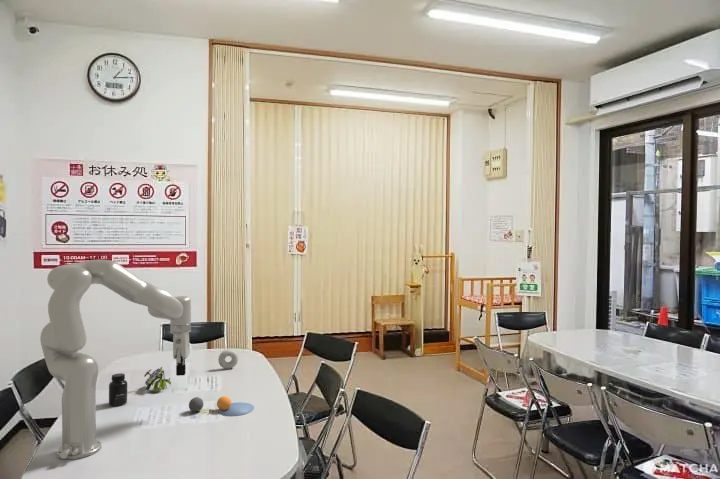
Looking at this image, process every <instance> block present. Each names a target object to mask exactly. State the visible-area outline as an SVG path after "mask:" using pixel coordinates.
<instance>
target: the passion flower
mask: <svg viewBox="0 0 720 479" xmlns="http://www.w3.org/2000/svg"><path fill="white" fill-rule="evenodd" d="M151 371H152V369H148V370H147V371H146V372H145V374H144V378H145V377H146V376H148V375H149V377H148V378H147V379H146V380H145V381H144V382H145V383H144V384H145V386H146V387H145V389H146V390H150V389H151V386H153V393H155V394H157V392H158V391H159V392H161V391H162V390H164V389H165V388H168V387H167V384H170V385H171V384H172V382H171V377H168V378H165V370H164V368H163V366H161V367H159V368H157V369H155V370H154V371H152V372H151ZM150 372H151V373H150Z"/></svg>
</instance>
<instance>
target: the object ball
mask: <svg viewBox="0 0 720 479" xmlns="http://www.w3.org/2000/svg"><path fill="white" fill-rule="evenodd" d="M231 403H232V400H231V398H230V397H229V396H228V395H223V396H220V397H219V398H218V399H217V402H216V406H217V409H220V410H223V411H224V410H227V409H229V407H230V406H231Z"/></svg>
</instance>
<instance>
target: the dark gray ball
mask: <svg viewBox="0 0 720 479" xmlns="http://www.w3.org/2000/svg"><path fill="white" fill-rule="evenodd" d="M203 407H204V401H203V399H202V398H201V397H198V396H197V397H193V398H192V399H190V401H189V403H188V408H189V410H190V411H192V412H194V413H197V412H198V413H199V412H201V410H202V409H203Z"/></svg>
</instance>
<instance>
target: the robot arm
mask: <svg viewBox="0 0 720 479" xmlns="http://www.w3.org/2000/svg"><path fill="white" fill-rule="evenodd" d="M47 284H48V287H50V288H51V289H52V290H54V291H52V293H51V296H50V297H49V300H48V304H47V313H48V317H49V318H48V319H49V322H48V323H47V324H46V325H45V326H44V327H43V328H42V329H41V332H40V338H39V340H40V345H41V349H42V353H43V357H44V361H45V363H46V367H47V369H48V373H50V375H51V376H52V377H53V378H54V379H55V378H56V379H57V380H60V381H63V382H64V387H63V391H62V394H61V395H62V396H61V429H62V430H61V435H62V438H61V440H62V443H61V446H59V448H58V449H56V456H57V458H58V459H60V460H61V459H62V460H76V459H83V458H86V457H89V456H91V455H93V454H96V453H97V452H98V451H99V450H100V449H101V448H102V441H101V440H98V439H97V418H96V417H97V413H96V412H97V410H96V409H97V408H96V407H97V406H96V404H97V403H96V397H97V396H96V395H97V393H96V389H97V388H96V387H97V381H98V377H99V376H98V375H99V365H98V362H97V360H96V359H95V358H93V357H92V356H90V355H89V354H87V353H83V352H80V351H81V350H82V349H83V348H85V346H86V343H87V334H86V330H85V326H84V323H83V319H82V314H81V307H80V304H81V300H82V298H83V296H84V294H86V292H87V291H88V289H90V287H91V285H94V284H95V285H102V286H104V287H106V288H108V289H109V290H111V291H112V292H114V293H116V294H117V295H119V296H120V297H122V298H123V299H125V300H126V301H129V302H132V303H134V304H138V305H142V306H143V307H144V306H145V307H147V312H148V314H149V315H150V316H151V317H153V318H157V319H162V320H169V321H170V328H169V329H170V331H169V333H170V334H172V335H173V337H172V341H173V342H172V348H173V349H172V356H173V359H174V360H175V361H176V366H175V368H176V370H175V374H176V376H177V377H178V376H185V375H186V359H187V358H188V357H189V355H190V353H191V347H190V332H192V317H191V316H192V312H191V311H192V310H191V309H192V306H191V305H192V303H191V302H192V301H191V298H190V297H189V296H186V295H183V296H181V295H179V296H173V294H170V293H169V292H167V291H166V290H163V289H162V288H159V287H157V286H155V285H153V284H152V283H150V282H147V281H145V280H143V279H142V278H140V277H139V276H137V275H136V274H135V273H133V272H132V271H130V270H129V269H127V268H125V267H124V266H123V265H121V264H119V263H118V262H116V261H114V260H110V259H109V260H108V259H92V260H85V261H80V262H74V263H68V264H62V265H59V266H56V267H54V268H52V269H51V270H50V271H49V273H48V275H47Z"/></svg>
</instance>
